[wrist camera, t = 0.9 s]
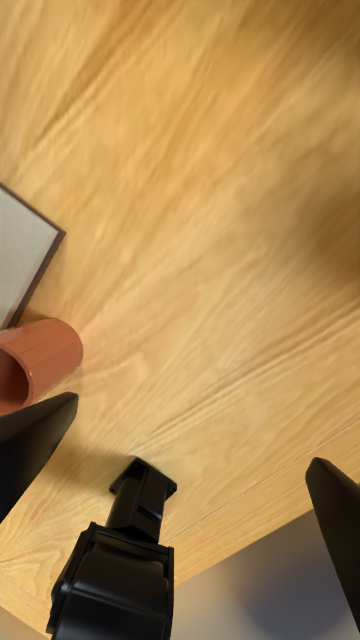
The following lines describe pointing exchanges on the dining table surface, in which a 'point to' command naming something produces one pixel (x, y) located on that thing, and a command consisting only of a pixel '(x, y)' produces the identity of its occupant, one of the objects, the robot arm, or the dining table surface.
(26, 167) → the dining table surface
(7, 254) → the tile
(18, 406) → the pot
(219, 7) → the dining table surface
